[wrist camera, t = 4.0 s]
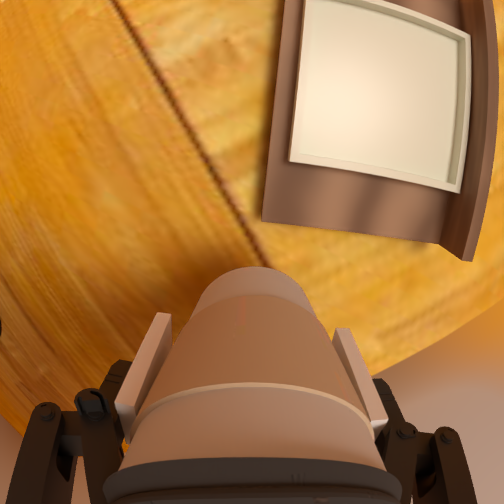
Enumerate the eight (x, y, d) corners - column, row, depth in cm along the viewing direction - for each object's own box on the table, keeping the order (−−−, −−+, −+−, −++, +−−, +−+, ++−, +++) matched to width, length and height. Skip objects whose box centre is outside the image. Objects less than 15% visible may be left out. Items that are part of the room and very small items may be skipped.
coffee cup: (152, 333, 19) (64, 558, 5) (228, 214, 16) (141, 534, 2) (270, 394, 21) (281, 603, 7) (358, 299, 18) (476, 535, 4)
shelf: (261, 212, 27) (261, 236, 21) (287, -36, 19) (294, -77, 13) (433, 235, 27) (471, 261, 21) (453, 11, 19) (490, -8, 13)
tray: (287, 159, 23) (289, 161, 21) (304, -8, 18) (307, -17, 16) (448, 189, 23) (459, 193, 21) (459, 39, 18) (470, 35, 16)
